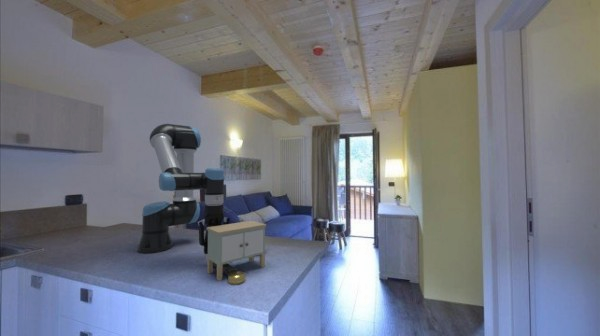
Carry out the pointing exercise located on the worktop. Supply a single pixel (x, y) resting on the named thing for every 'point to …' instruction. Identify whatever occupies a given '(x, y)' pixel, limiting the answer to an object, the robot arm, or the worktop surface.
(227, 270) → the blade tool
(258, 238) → the cabinet
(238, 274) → the token
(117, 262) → the worktop surface
